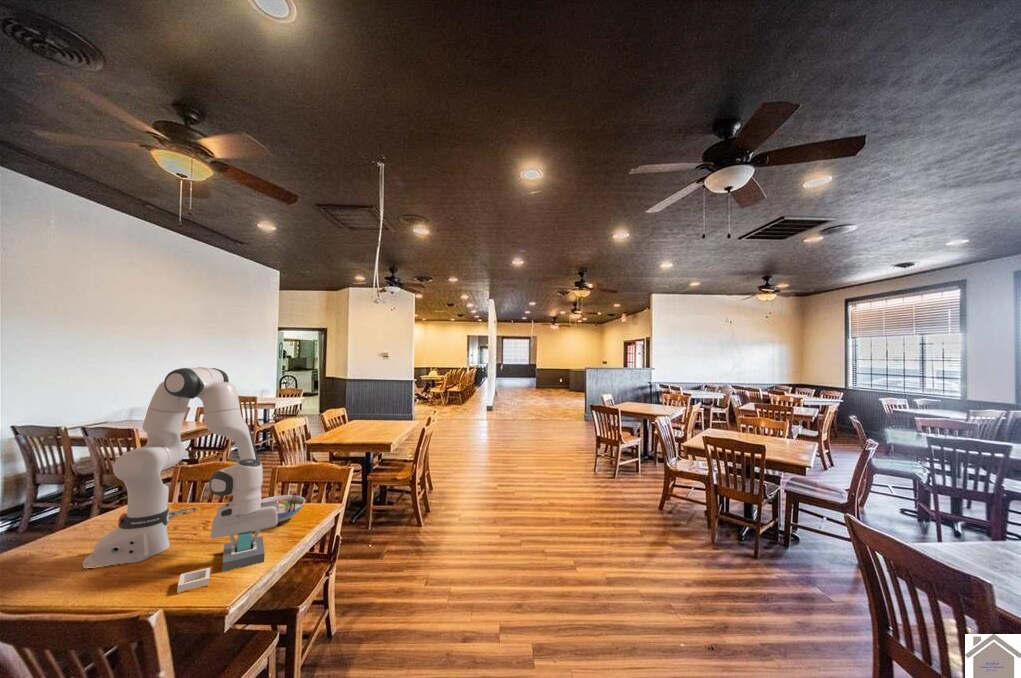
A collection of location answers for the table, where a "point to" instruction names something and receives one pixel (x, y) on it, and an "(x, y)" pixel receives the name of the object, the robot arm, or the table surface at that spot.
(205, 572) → the white square frame
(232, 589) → the table surface
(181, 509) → the knife
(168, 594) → the table surface
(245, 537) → the plug
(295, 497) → the ramen bowl
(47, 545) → the table surface
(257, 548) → the socket block
